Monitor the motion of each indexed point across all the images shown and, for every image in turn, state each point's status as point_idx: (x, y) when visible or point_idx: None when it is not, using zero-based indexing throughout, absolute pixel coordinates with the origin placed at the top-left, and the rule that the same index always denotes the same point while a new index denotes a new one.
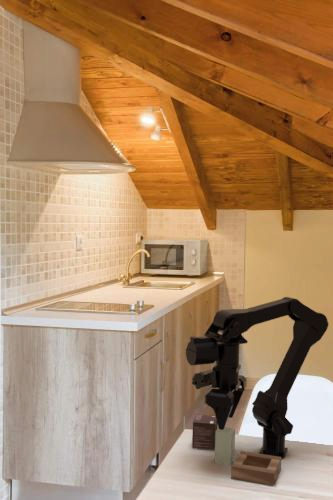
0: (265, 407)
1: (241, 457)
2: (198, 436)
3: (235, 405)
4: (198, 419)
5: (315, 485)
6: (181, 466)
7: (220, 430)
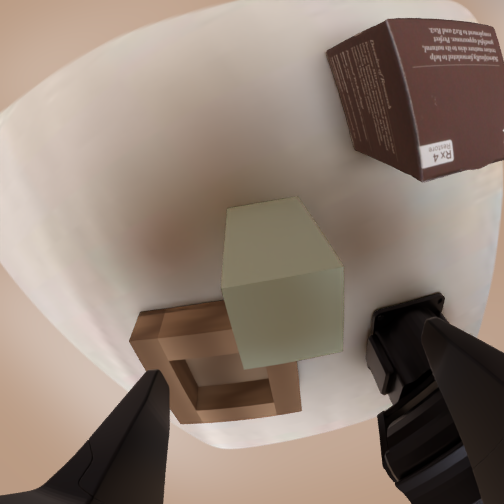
0: (420, 484)
1: (225, 343)
2: (354, 73)
3: (460, 418)
4: (438, 50)
5: (247, 436)
6: (110, 112)
7: (257, 307)
